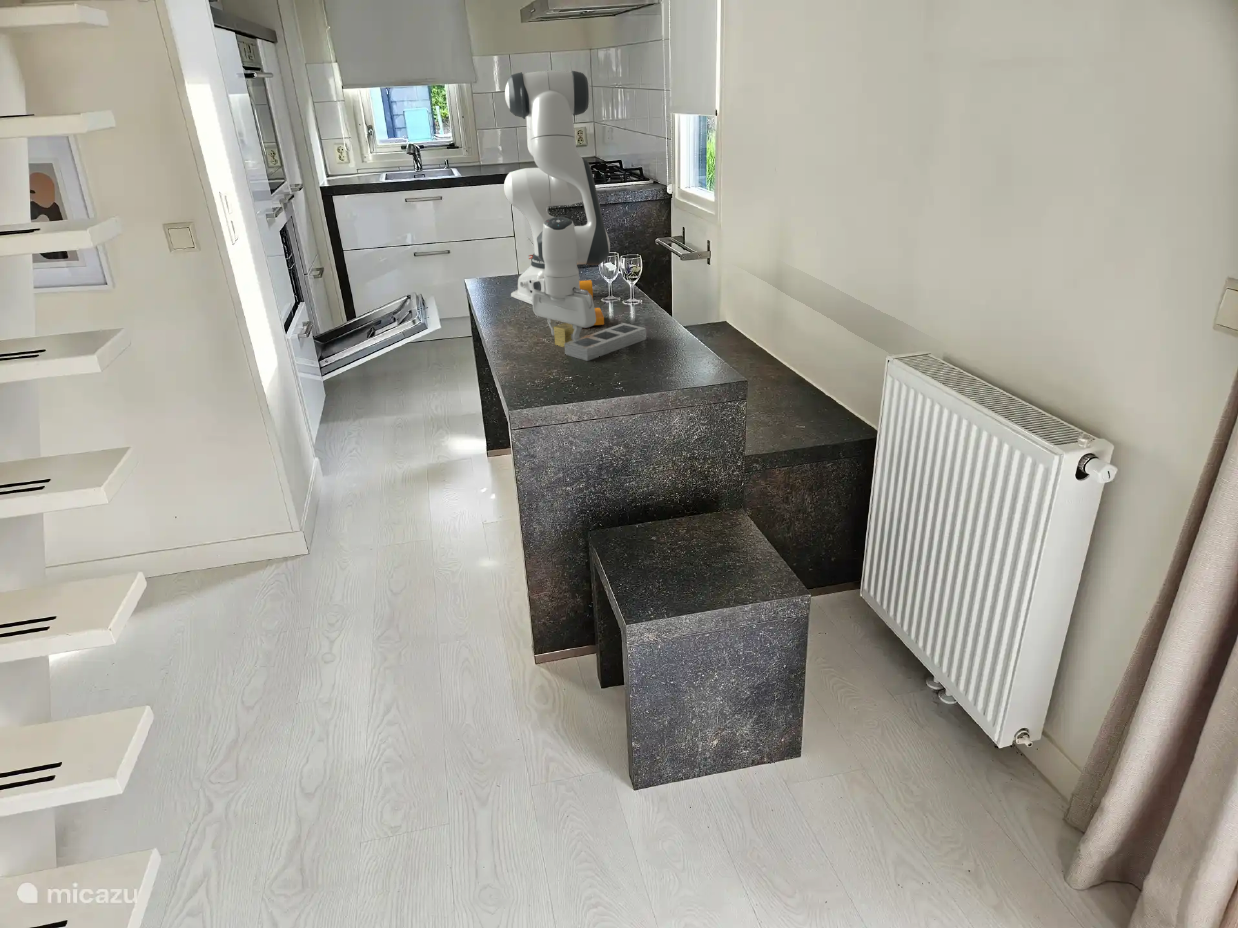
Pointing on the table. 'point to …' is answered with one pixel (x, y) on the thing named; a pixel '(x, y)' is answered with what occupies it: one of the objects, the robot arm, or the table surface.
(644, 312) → the table surface
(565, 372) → the table surface
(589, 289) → the bracket
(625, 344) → the grey rectangular frame
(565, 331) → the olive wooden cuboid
